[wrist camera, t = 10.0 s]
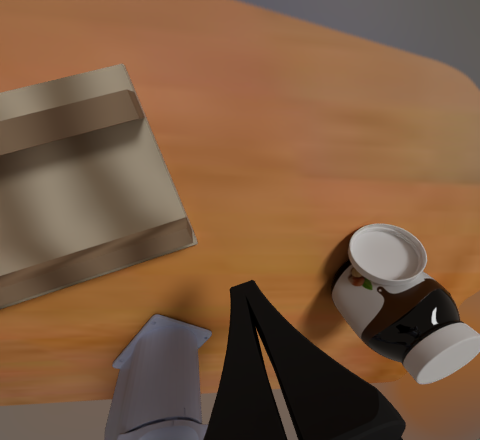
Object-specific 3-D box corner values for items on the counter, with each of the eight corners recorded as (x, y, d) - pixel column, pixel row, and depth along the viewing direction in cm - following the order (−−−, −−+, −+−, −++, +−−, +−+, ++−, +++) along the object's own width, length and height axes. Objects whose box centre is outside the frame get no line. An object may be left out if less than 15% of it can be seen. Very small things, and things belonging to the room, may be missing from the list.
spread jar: (341, 306, 31) (416, 398, 21) (298, 275, 26) (371, 380, 16) (408, 251, 29) (527, 326, 19) (375, 205, 24) (517, 275, 13)
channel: (124, 65, 13) (98, 45, 9) (197, 240, 20) (200, 272, 16) (-288, 164, 11) (-551, 194, 7) (-48, 320, 18) (-113, 379, 14)
